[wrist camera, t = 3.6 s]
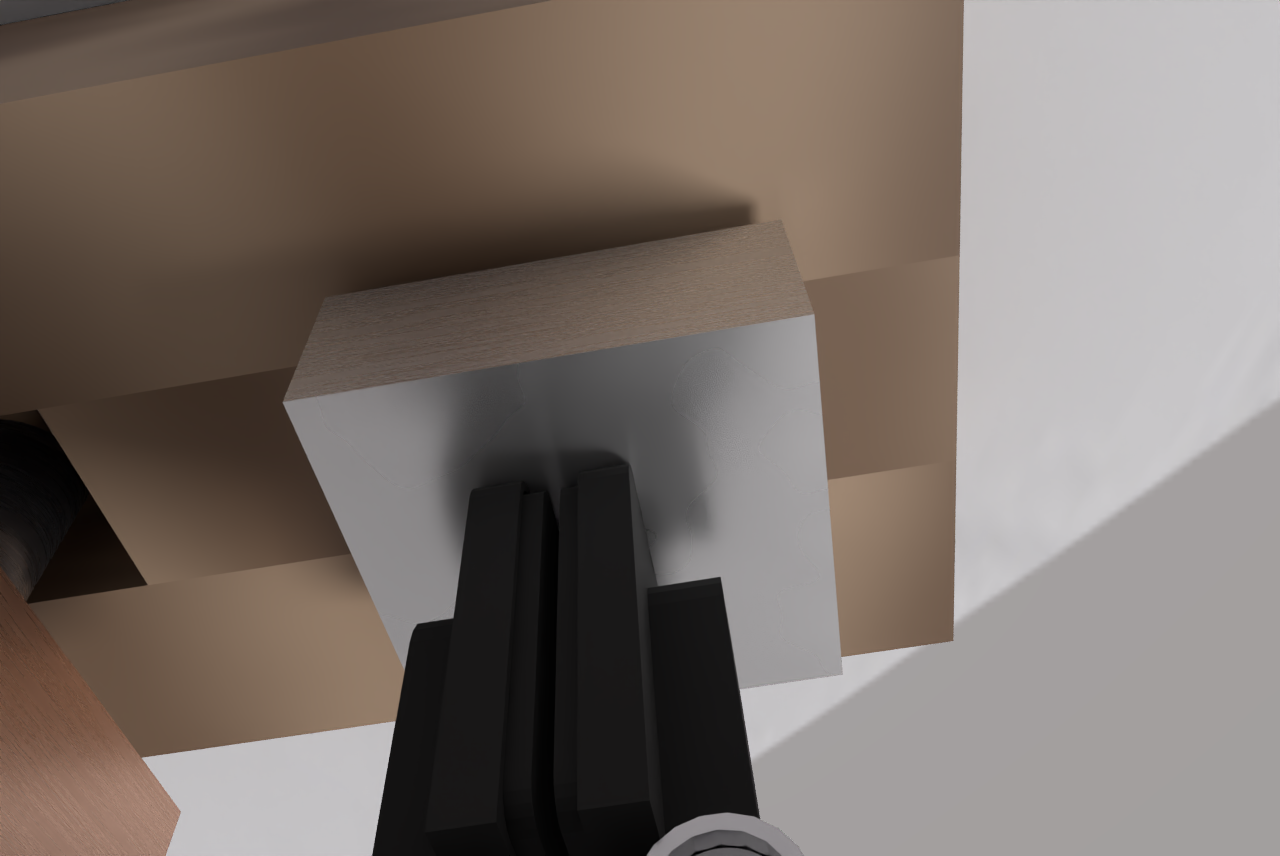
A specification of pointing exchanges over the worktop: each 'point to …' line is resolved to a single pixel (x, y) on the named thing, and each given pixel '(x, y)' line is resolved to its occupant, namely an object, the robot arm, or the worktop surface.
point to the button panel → (427, 249)
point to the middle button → (58, 689)
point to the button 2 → (589, 425)
